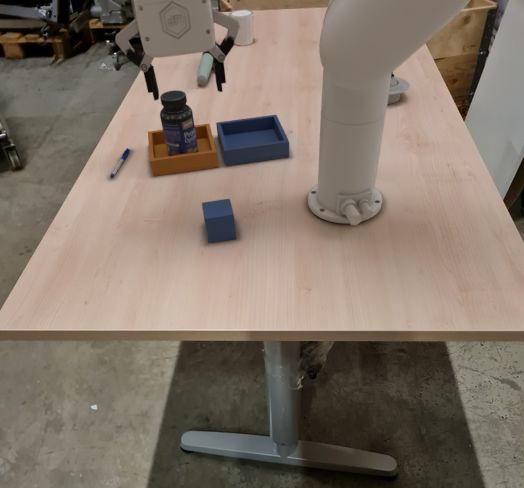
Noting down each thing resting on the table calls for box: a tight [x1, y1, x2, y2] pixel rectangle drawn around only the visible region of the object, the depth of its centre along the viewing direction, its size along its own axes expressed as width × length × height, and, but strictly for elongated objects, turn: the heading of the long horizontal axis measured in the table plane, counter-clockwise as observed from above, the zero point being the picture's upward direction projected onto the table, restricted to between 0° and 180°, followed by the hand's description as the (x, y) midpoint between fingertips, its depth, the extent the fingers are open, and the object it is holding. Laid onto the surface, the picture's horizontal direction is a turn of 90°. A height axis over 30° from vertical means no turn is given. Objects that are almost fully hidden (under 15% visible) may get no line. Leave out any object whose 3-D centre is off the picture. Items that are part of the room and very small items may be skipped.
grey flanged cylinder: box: [387, 71, 410, 105], centre depth 104 cm, size 12×10×10 cm
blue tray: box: [215, 114, 290, 167], centre depth 96 cm, size 12×13×3 cm
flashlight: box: [196, 51, 215, 86], centre depth 123 cm, size 3×4×20 cm
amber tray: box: [147, 123, 219, 177], centre depth 95 cm, size 12×13×3 cm
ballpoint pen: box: [109, 148, 131, 179], centre depth 95 cm, size 10×1×1 cm, turn 173°
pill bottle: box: [159, 90, 198, 156], centre depth 91 cm, size 6×6×11 cm
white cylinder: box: [228, 9, 255, 46], centre depth 134 cm, size 7×7×7 cm
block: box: [201, 198, 237, 244], centre depth 77 cm, size 5×5×5 cm
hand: (188, 92), depth 73 cm, fingers open, 9 cm apart
